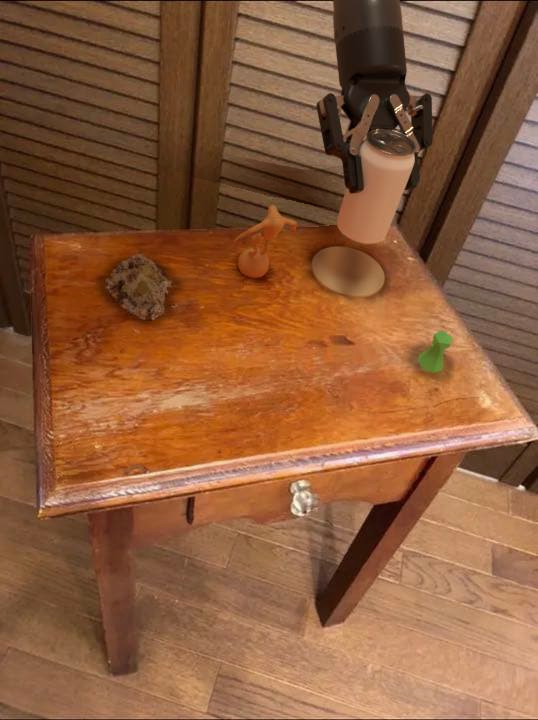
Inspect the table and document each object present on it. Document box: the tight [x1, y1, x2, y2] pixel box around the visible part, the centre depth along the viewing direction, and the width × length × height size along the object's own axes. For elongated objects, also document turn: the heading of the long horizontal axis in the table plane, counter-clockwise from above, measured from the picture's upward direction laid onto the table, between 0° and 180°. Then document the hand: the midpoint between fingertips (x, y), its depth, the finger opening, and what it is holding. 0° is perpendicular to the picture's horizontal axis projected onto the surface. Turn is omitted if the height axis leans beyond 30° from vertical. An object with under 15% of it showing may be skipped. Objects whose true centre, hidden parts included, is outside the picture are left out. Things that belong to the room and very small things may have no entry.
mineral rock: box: [105, 253, 174, 321], centre depth 70 cm, size 11×4×8 cm
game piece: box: [417, 330, 453, 374], centre depth 68 cm, size 4×4×6 cm
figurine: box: [232, 204, 298, 279], centre depth 72 cm, size 8×6×12 cm
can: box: [336, 129, 416, 246], centre depth 69 cm, size 6×6×12 cm
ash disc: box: [310, 245, 386, 299], centre depth 79 cm, size 10×10×2 cm
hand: (383, 190), depth 68 cm, fingers closed on can, 6 cm apart
